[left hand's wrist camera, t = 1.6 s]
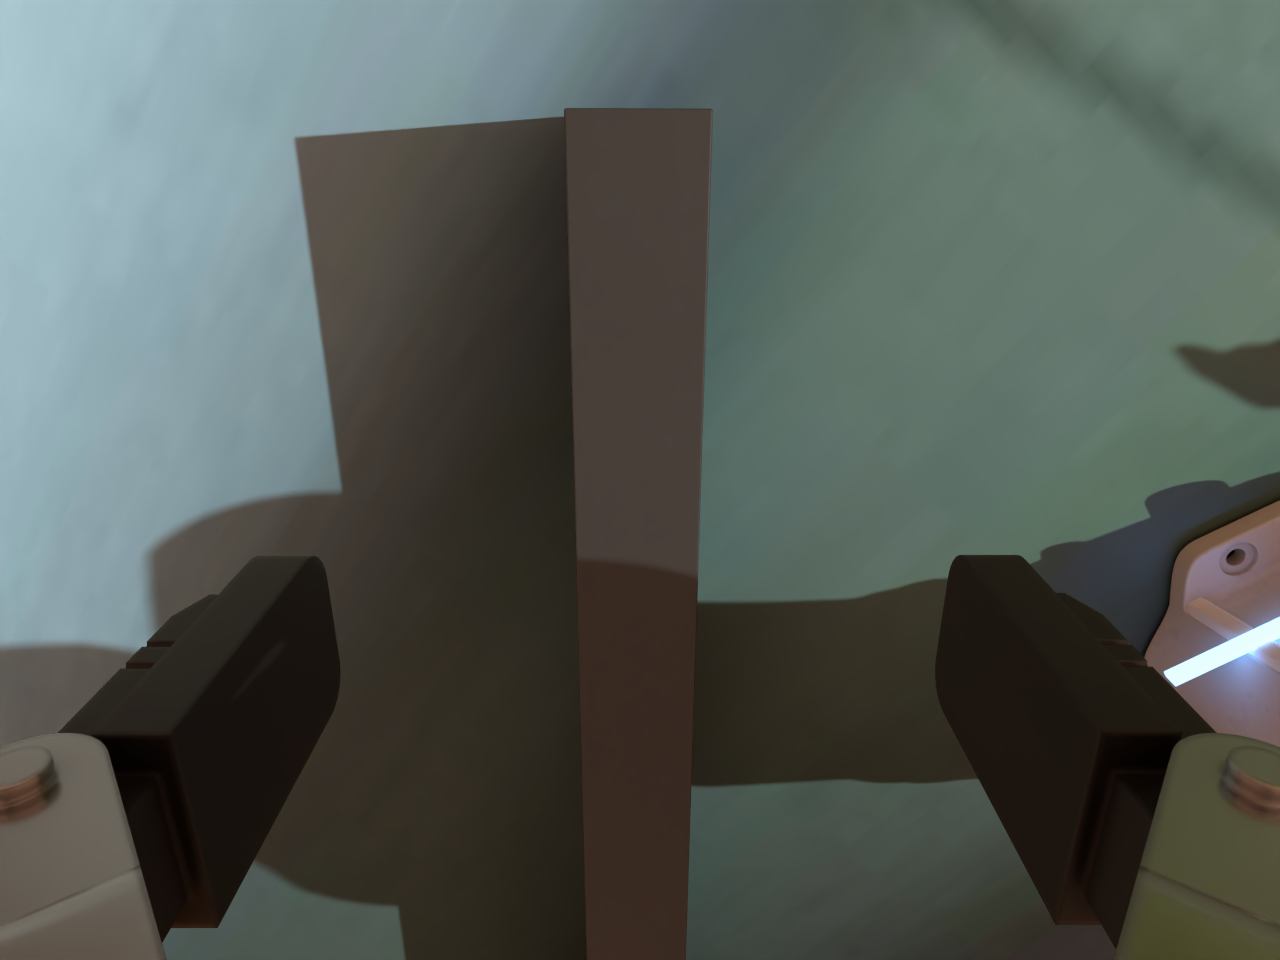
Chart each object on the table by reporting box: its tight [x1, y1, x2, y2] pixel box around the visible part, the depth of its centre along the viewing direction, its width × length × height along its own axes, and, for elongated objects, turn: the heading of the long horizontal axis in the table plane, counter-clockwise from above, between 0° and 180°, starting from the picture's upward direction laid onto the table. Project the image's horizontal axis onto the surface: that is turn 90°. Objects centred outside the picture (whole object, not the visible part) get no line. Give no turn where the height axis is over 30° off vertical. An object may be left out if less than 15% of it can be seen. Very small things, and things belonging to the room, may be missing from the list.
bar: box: [564, 108, 713, 960], centre depth 41 cm, size 61×4×8 cm, turn 0°
